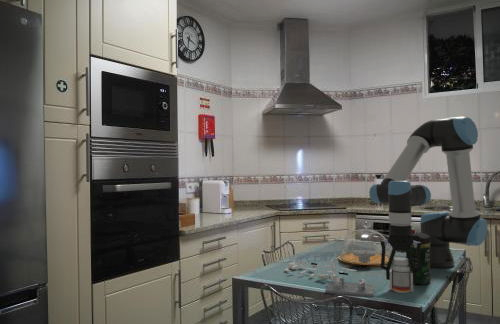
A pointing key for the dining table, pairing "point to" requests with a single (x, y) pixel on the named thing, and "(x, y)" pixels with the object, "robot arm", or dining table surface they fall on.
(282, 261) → the dining table surface
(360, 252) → the showerhead
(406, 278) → the pill bottle
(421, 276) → the coffee jar
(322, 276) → the miniature set
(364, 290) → the grey knobbed plate
